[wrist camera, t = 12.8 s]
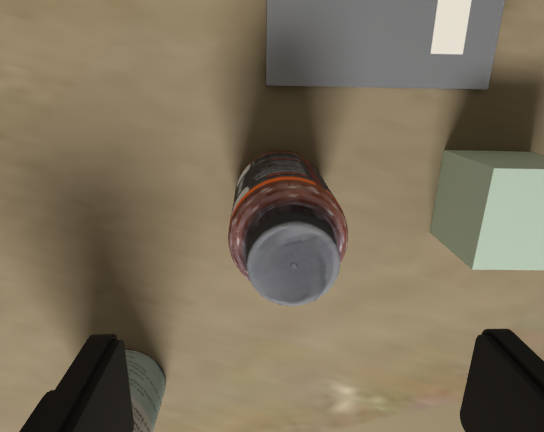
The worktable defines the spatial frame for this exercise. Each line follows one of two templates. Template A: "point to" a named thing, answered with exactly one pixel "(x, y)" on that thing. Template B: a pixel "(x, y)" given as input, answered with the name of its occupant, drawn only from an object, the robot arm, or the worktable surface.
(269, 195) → the supplement bottle
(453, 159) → the sage block
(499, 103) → the worktable surface
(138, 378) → the spray paint can
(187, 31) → the worktable surface
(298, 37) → the board
